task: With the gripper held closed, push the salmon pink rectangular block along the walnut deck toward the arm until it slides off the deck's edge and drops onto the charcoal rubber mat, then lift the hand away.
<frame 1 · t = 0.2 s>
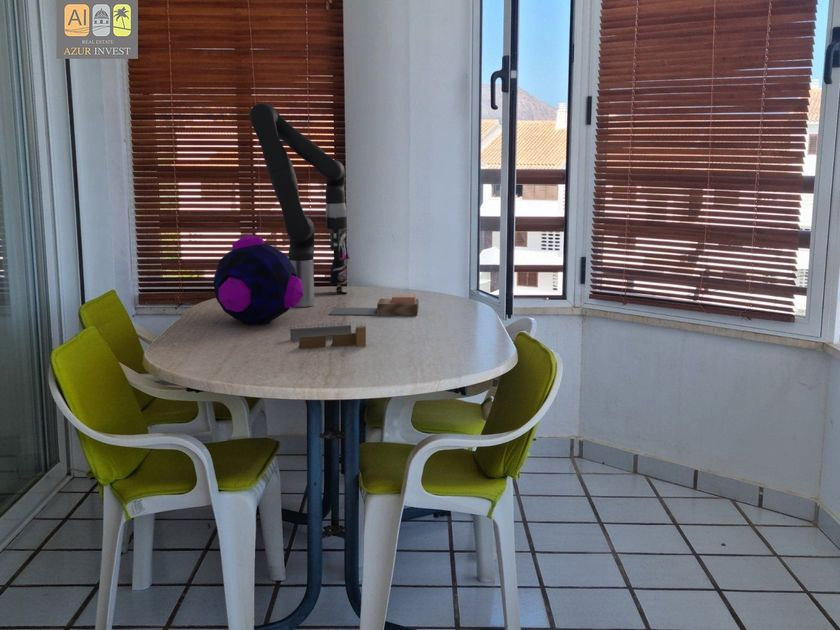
hand: (338, 259, 335), 17 cm above the table, tool pointing down, fingers open, 8 cm apart
salmon pink rectangular block: (403, 301, 323), point 4 cm above the table, touching deck
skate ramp: (330, 349, 267), on the table
sculpture: (256, 323, 302), on the table
deck: (398, 312, 324), on the table
mat: (353, 311, 325), on the table
figurine: (338, 294, 366), on the table
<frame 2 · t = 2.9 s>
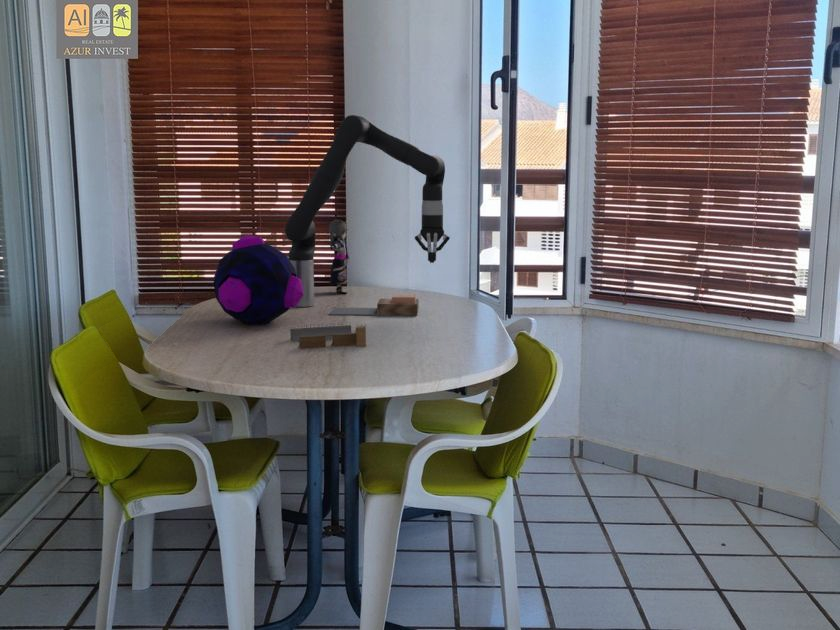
hand: (432, 262, 321), 18 cm above the table, tool pointing down, fingers closed
nothing on the table moved.
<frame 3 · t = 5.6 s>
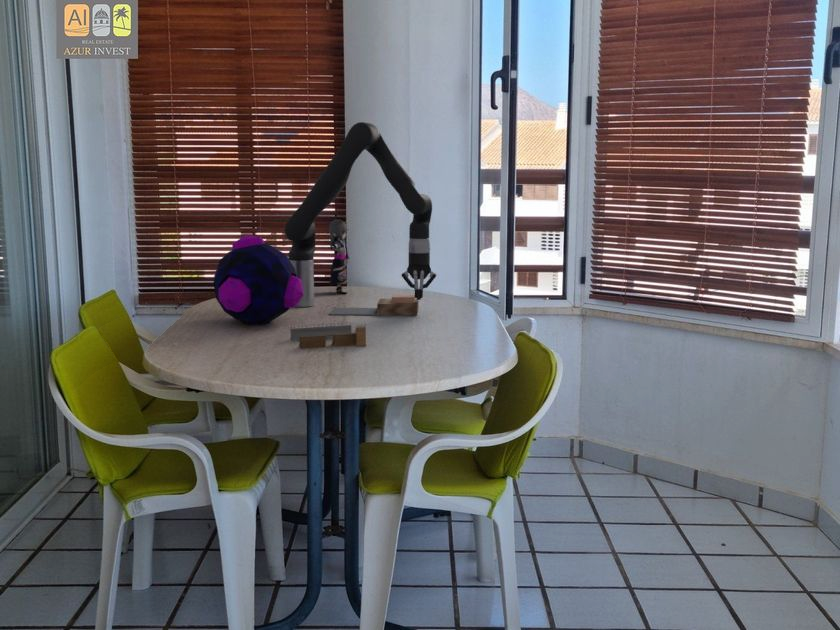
hand: (418, 299, 323), 5 cm above the table, tool pointing down, fingers closed
salmon pink rectangular block: (403, 301, 323), point 4 cm above the table, touching gripper
everything else where it was.
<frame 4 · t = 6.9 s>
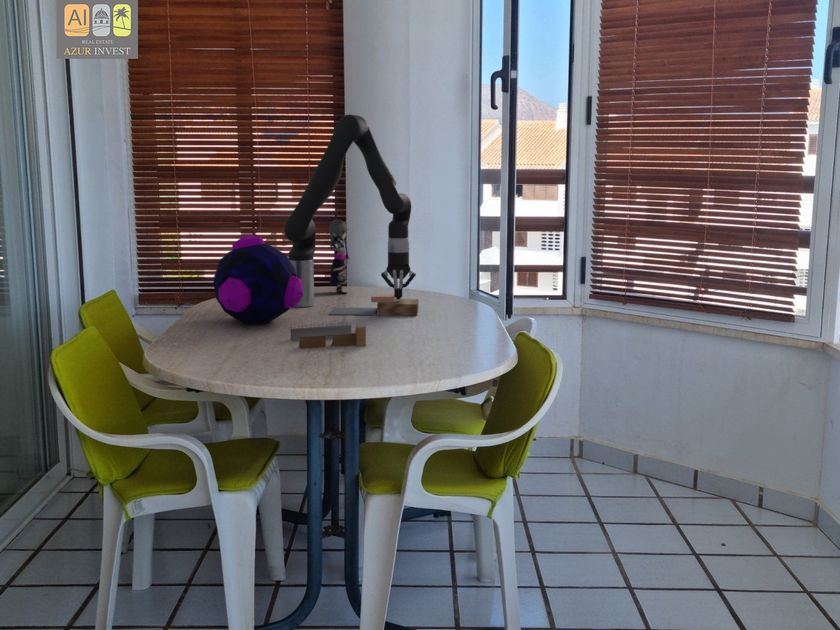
hand: (398, 298, 323), 5 cm above the table, tool pointing down, fingers closed
salmon pink rectangular block: (383, 301, 324), point 4 cm above the table, touching deck, gripper
everything else where it was.
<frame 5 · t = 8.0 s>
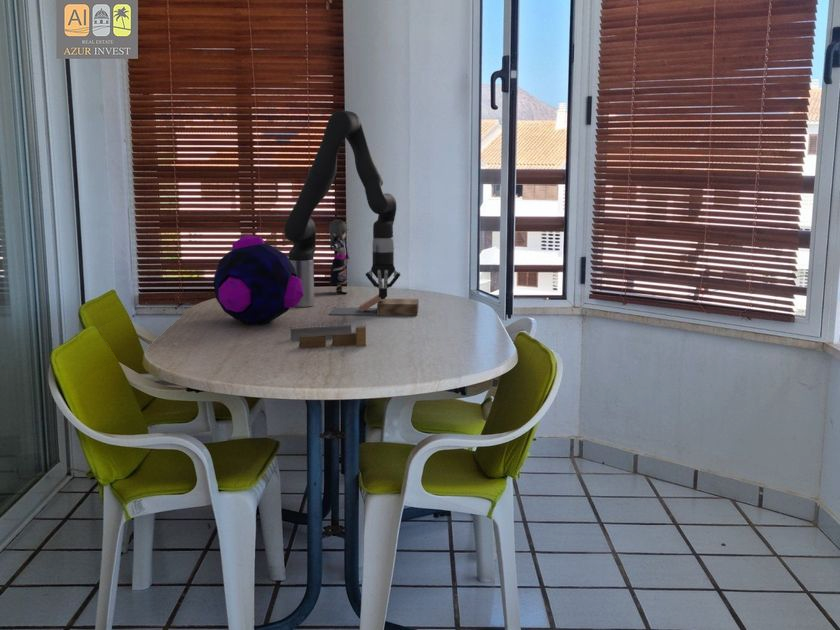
hand: (383, 298, 324), 5 cm above the table, tool pointing down, fingers closed
salmon pink rectangular block: (371, 305, 324), point 2 cm above the table, tilted 31°, touching mat
everything else where it was.
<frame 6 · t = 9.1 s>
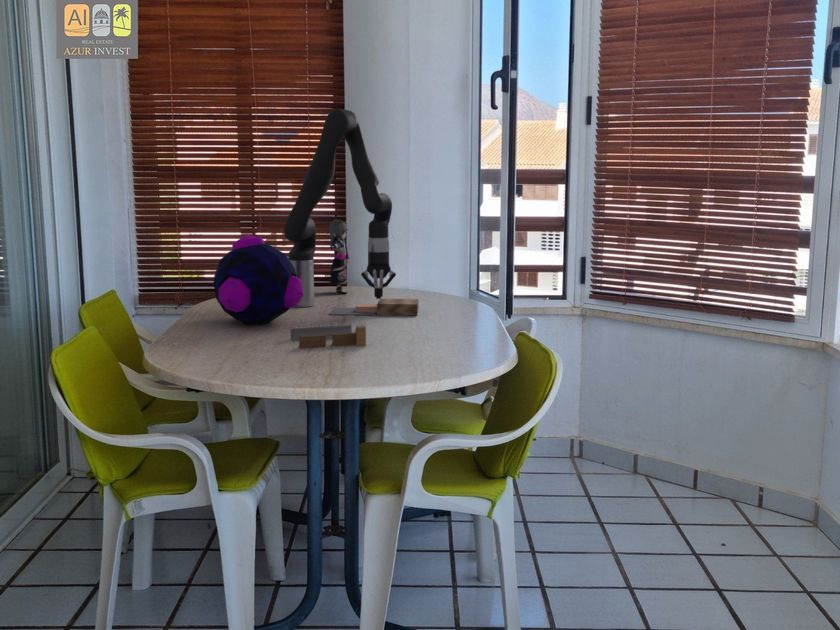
hand: (378, 298, 324), 5 cm above the table, tool pointing down, fingers closed
salmon pink rectangular block: (367, 310, 325), resting on mat
everything else where it was.
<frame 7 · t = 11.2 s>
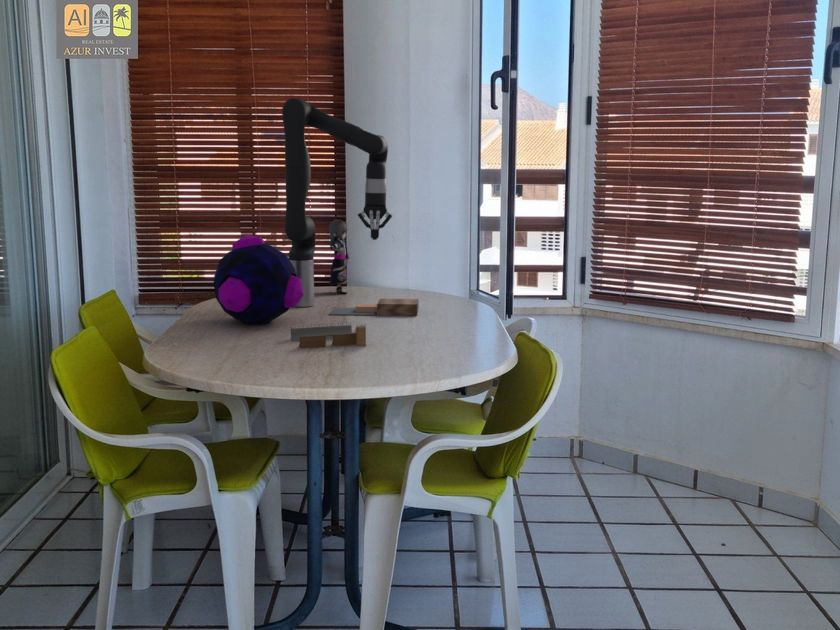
hand: (374, 239, 329), 25 cm above the table, tool pointing down, fingers closed
nothing on the table moved.
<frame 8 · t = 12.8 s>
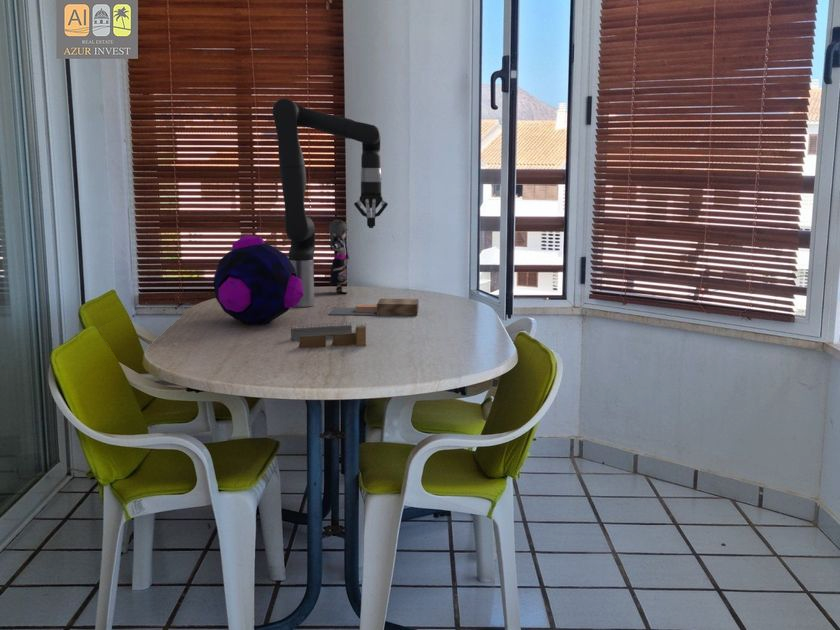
hand: (371, 227, 334), 29 cm above the table, tool pointing down, fingers closed
nothing on the table moved.
at the end: salmon pink rectangular block inside the target area (5.0 cm from its centre), resting on mat; salmon pink rectangular block touching mat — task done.
